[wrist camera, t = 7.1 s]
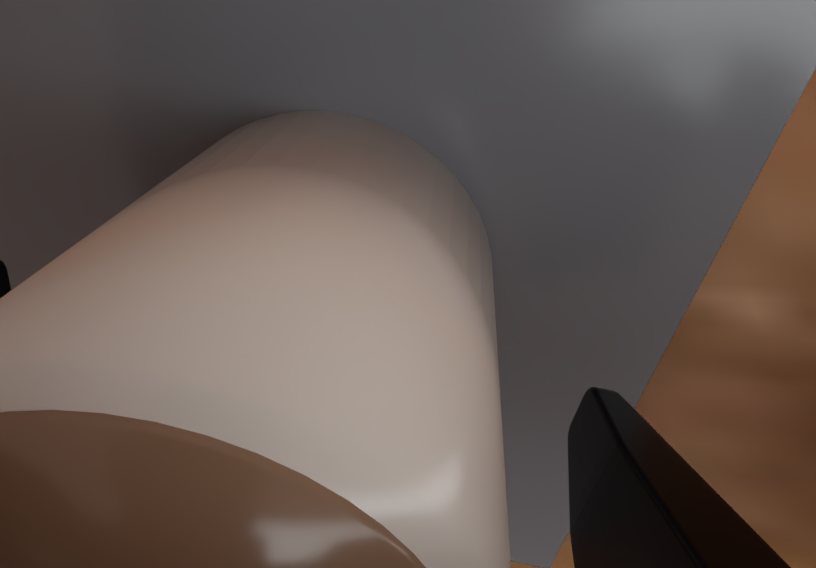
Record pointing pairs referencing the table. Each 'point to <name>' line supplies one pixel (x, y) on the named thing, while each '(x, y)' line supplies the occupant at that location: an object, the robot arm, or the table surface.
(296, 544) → the espresso cup
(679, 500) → the robot arm
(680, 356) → the table surface
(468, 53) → the slate board
